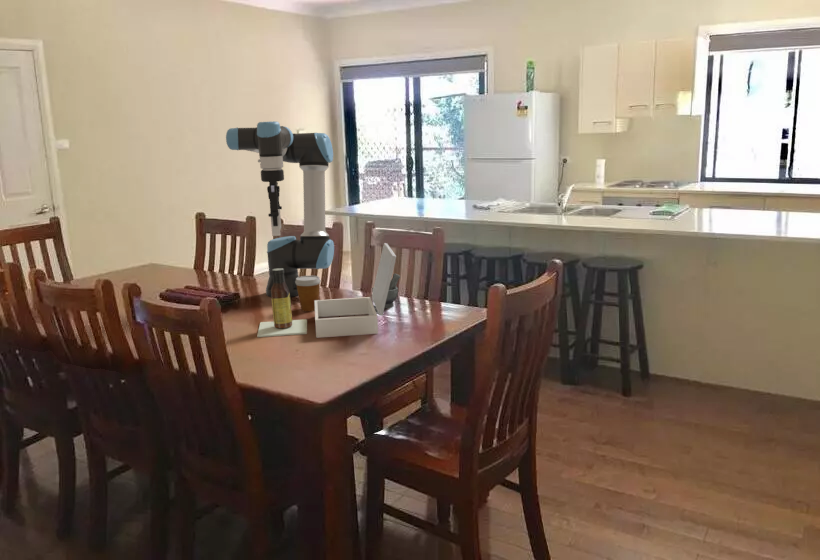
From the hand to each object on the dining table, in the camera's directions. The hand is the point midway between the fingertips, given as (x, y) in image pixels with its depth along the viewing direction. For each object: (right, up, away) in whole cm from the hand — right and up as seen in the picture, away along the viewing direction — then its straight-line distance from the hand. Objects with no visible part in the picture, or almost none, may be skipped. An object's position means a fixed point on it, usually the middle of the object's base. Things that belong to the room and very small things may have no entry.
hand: (277, 232), depth 234 cm
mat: (+2, -33, -1) cm, 33 cm away
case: (+23, -32, +1) cm, 39 cm away
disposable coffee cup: (+8, -27, +23) cm, 37 cm away
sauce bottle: (+2, -32, -1) cm, 32 cm away
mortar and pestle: (+37, -26, +25) cm, 52 cm away
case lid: (+36, -15, 0) cm, 39 cm away
